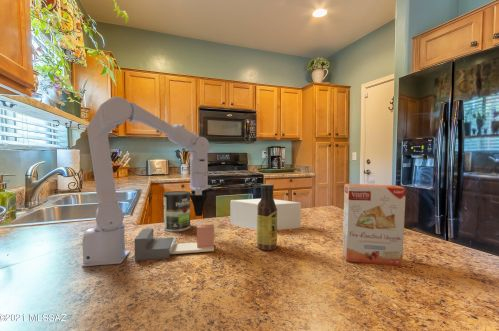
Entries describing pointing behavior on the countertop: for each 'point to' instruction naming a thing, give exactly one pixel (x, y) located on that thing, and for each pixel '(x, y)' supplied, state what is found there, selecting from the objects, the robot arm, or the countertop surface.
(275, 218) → the sauce bottle
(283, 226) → the white rectangular box
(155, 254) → the dispenser
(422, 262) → the countertop surface
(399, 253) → the cracker box
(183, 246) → the pink and white block
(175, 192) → the coffee can
